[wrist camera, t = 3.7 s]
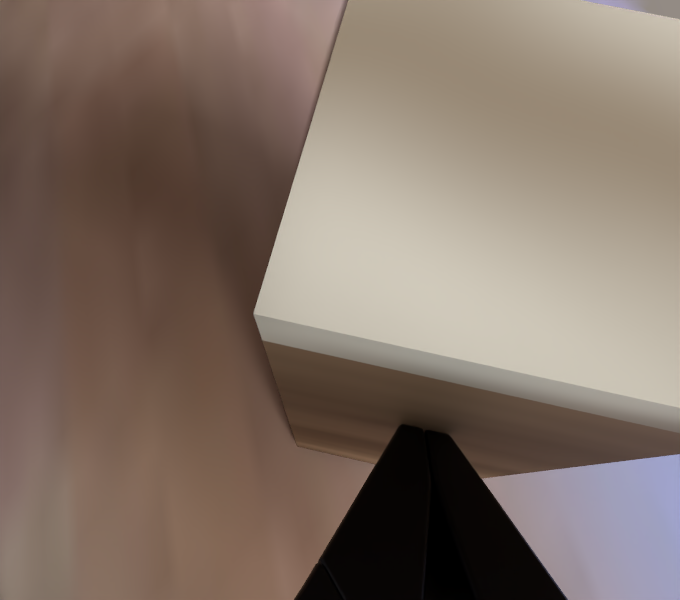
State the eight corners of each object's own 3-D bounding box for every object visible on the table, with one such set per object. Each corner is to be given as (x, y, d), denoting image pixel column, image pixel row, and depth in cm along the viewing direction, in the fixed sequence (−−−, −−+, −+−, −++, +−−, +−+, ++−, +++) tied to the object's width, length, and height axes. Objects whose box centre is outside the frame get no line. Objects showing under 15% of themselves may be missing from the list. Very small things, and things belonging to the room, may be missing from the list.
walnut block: (452, 482, 15) (813, 437, 4) (296, 446, 16) (252, 313, 4) (470, 333, 17) (753, 33, 6) (331, 303, 17) (361, -42, 6)
